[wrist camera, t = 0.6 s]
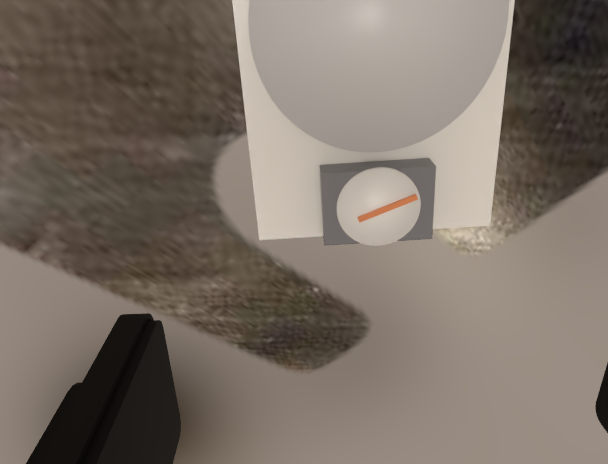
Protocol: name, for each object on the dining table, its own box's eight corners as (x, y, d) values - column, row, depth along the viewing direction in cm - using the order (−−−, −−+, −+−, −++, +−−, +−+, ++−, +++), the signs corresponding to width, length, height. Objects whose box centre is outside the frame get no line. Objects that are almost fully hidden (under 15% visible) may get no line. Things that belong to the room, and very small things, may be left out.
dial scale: (223, -123, 31) (210, -146, 26) (510, -144, 31) (551, -171, 26) (261, 224, 41) (257, 254, 36) (477, 210, 41) (501, 239, 36)
